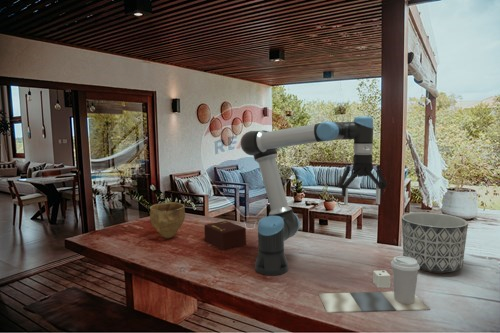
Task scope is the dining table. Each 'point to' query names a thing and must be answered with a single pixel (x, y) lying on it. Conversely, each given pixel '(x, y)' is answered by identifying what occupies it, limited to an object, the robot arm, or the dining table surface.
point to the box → (225, 235)
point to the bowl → (167, 218)
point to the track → (367, 302)
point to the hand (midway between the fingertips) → (361, 203)
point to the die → (381, 279)
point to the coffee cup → (404, 278)
